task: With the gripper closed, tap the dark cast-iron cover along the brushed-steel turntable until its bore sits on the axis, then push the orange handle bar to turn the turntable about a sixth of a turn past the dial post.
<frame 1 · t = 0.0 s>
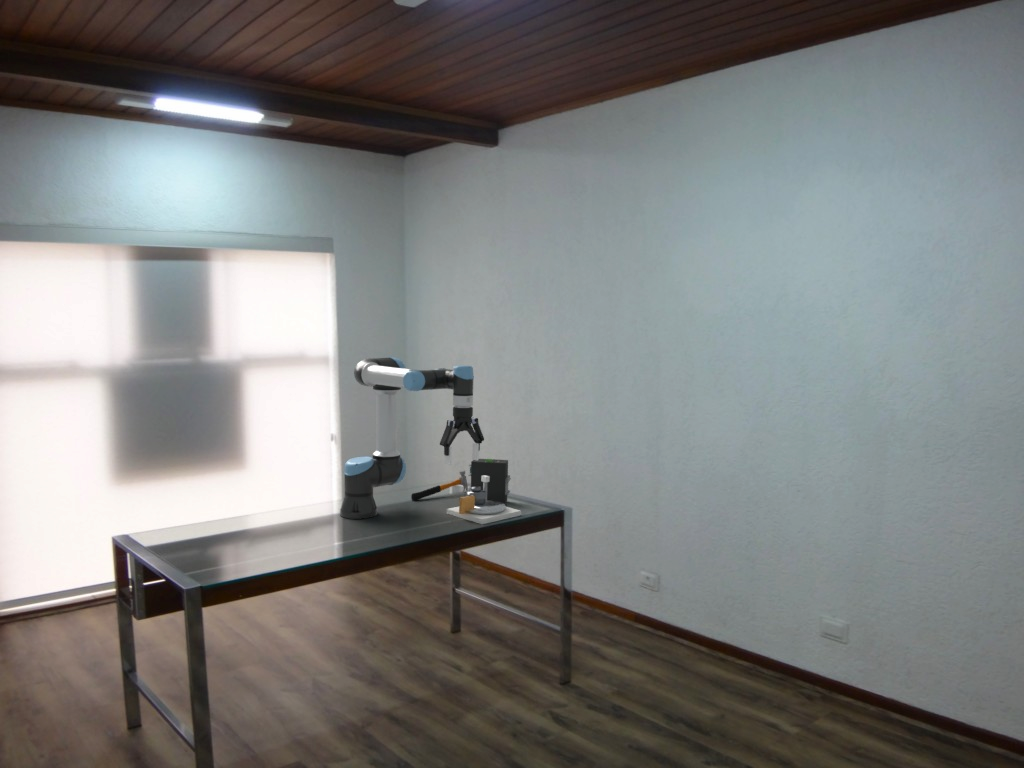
hand: (462, 462, 307), 28 cm above the table, fingers open, 13 cm apart
router: (488, 503, 361), on the table
turntable: (480, 502, 338), point 6 cm above the table, hinge at 0.0°, touching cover
hammer: (439, 497, 370), on the table
turntable base: (483, 514, 340), on the table
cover: (475, 502, 343), point 4 cm above the table, touching turntable
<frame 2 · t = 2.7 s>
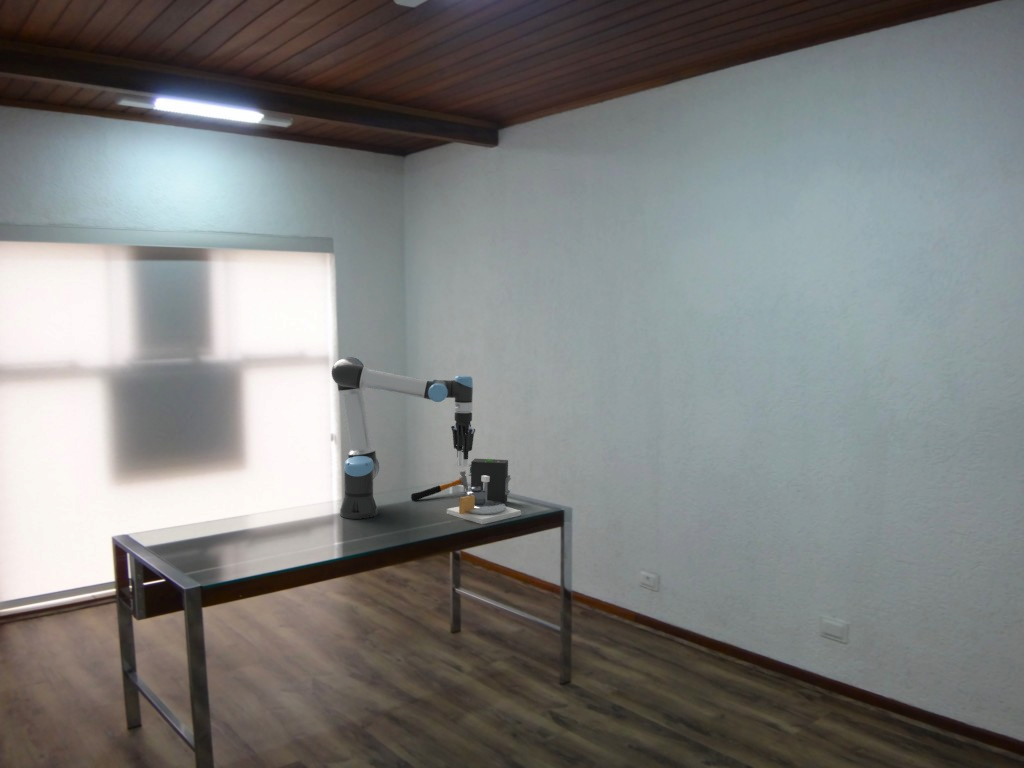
hand: (462, 466, 348), 18 cm above the table, fingers closed
nothing on the table moved.
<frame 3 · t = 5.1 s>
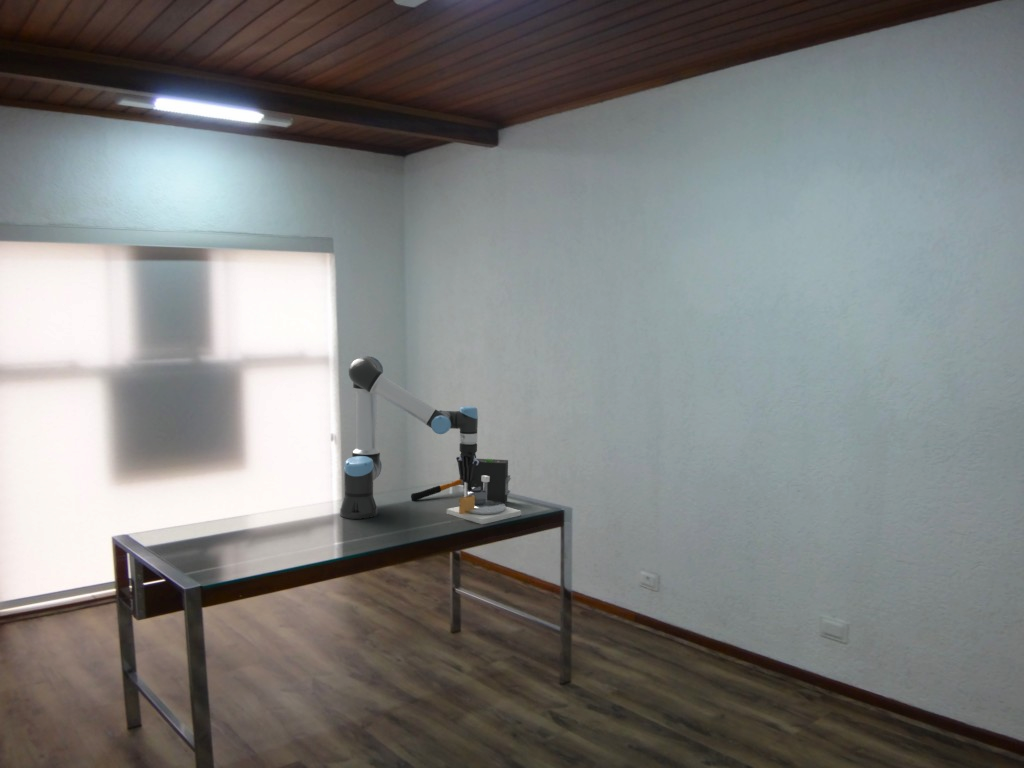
hand: (467, 497, 347), 6 cm above the table, fingers closed
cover: (476, 502, 343), point 4 cm above the table, touching gripper, turntable
everything else where it was.
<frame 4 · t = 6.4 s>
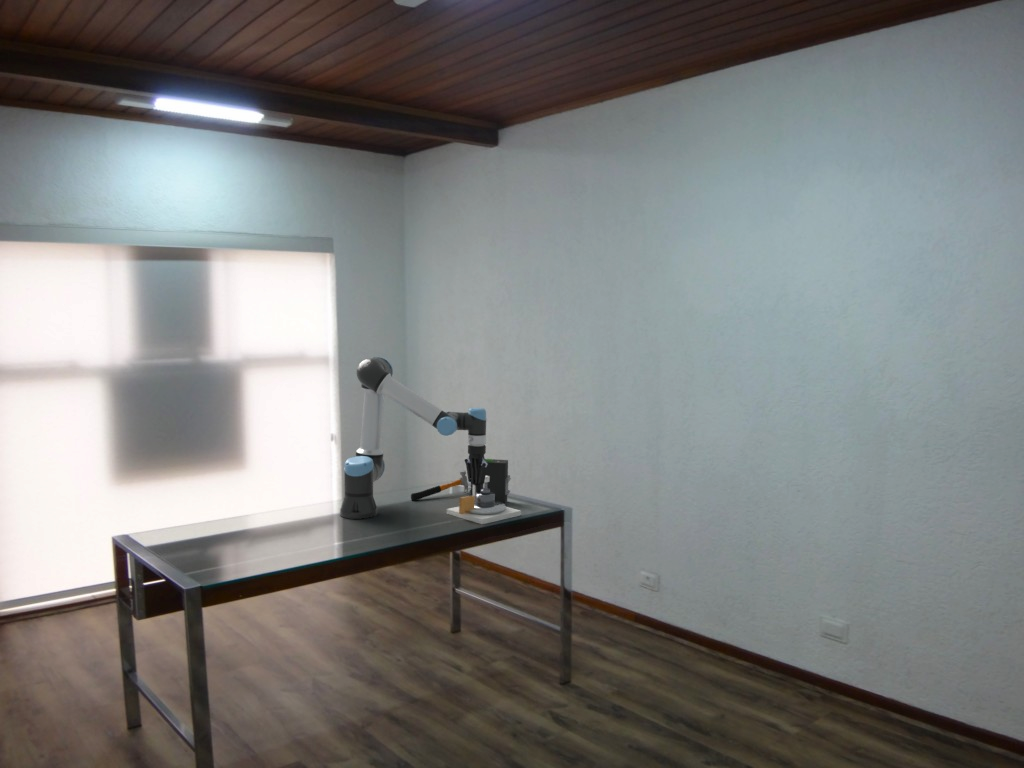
hand: (475, 499, 343), 5 cm above the table, fingers closed
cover: (485, 505, 339), point 4 cm above the table, touching gripper, turntable
everything else where it was.
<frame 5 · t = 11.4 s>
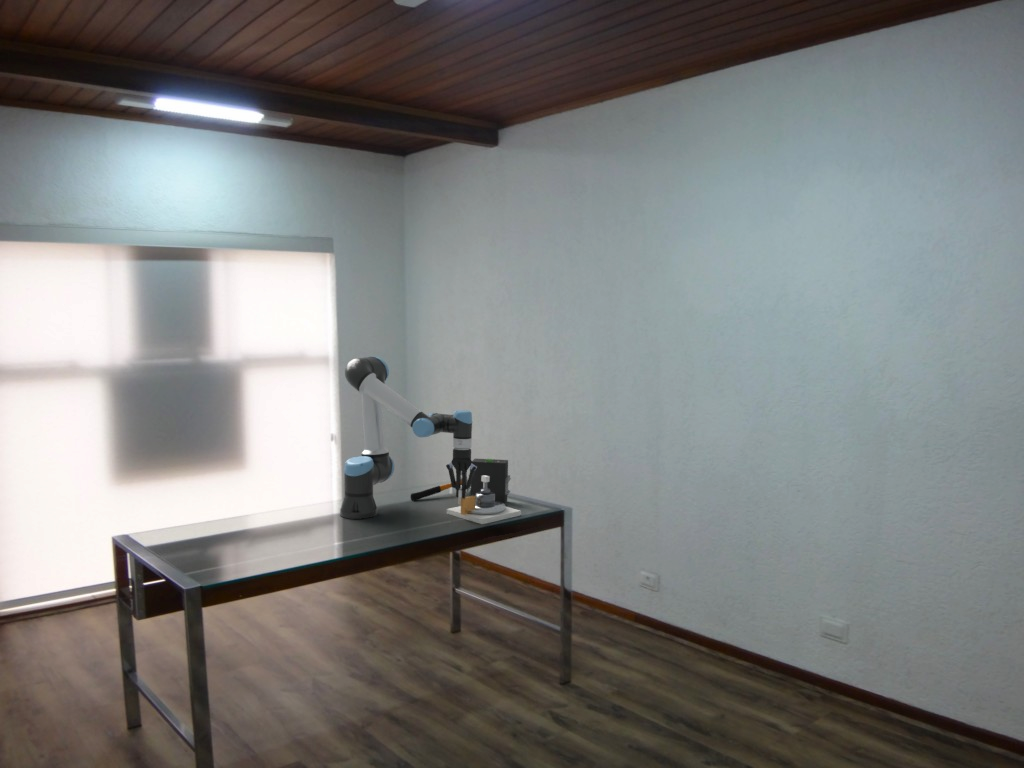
hand: (460, 505, 332), 6 cm above the table, fingers closed
turntable: (480, 502, 338), point 6 cm above the table, hinge at 4.3°, touching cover, gripper
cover: (485, 505, 339), point 4 cm above the table, touching turntable
everything else where it was.
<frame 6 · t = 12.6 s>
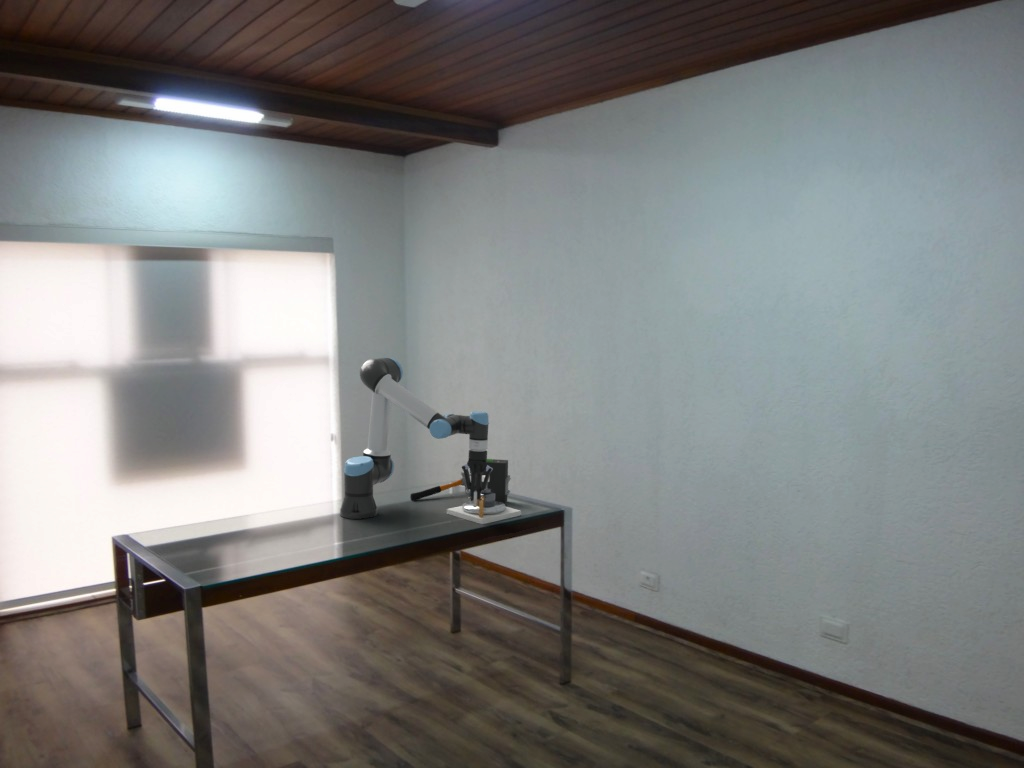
hand: (475, 506, 330), 5 cm above the table, fingers closed
turntable: (483, 502, 337), point 6 cm above the table, hinge at 42.3°, touching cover, gripper
everything else where it was.
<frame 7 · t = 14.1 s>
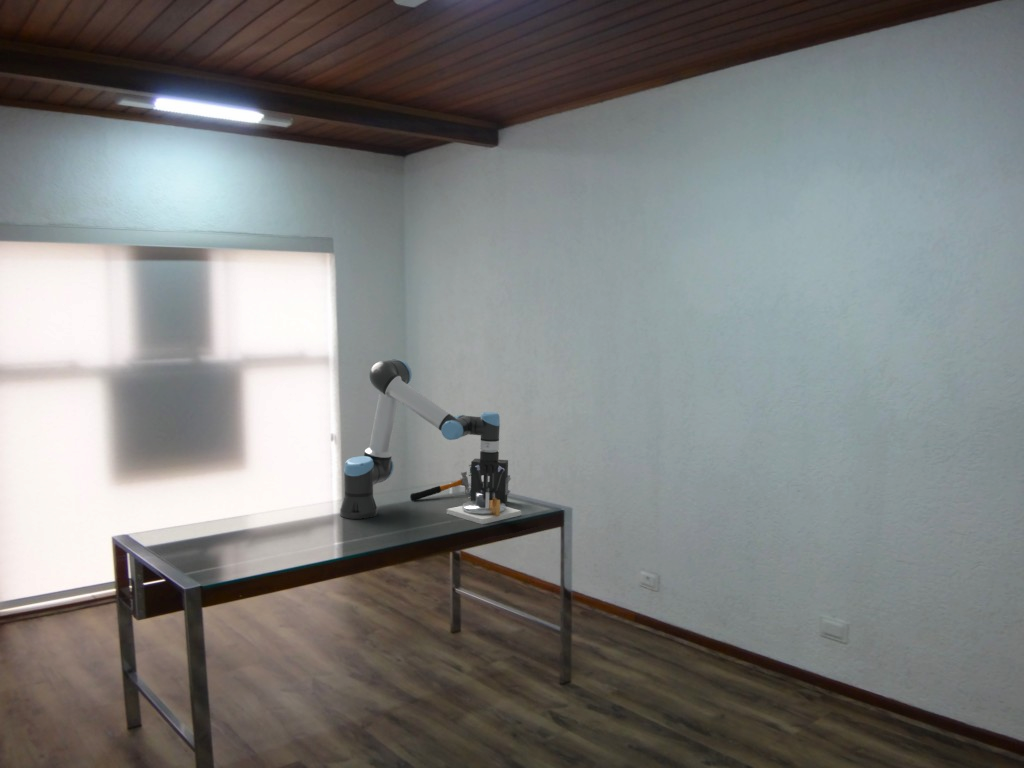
hand: (487, 507, 330), 5 cm above the table, fingers closed
turntable: (486, 502, 337), point 6 cm above the table, hinge at 74.0°, touching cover, gripper
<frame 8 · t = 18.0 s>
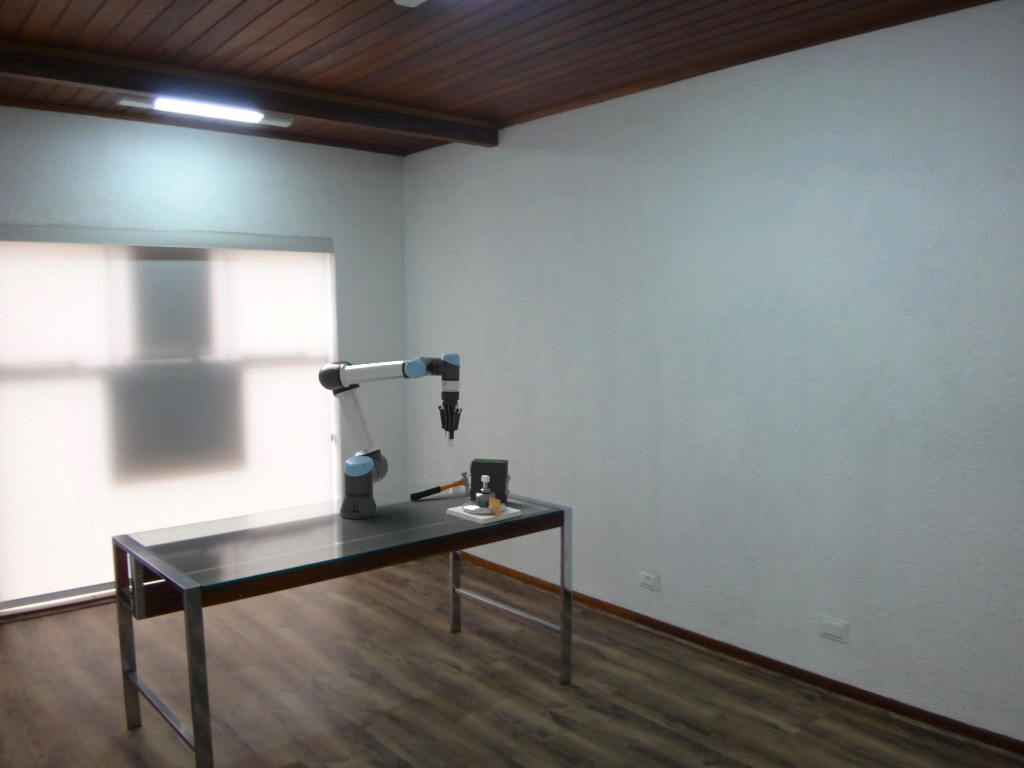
hand: (449, 446, 338), 28 cm above the table, fingers closed
turntable: (486, 502, 337), point 6 cm above the table, hinge at 74.1°, touching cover
at the end: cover 0.7 cm from the turntable (horizontally); turntable at +74° (first picture: +0°); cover tilted 0° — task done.
